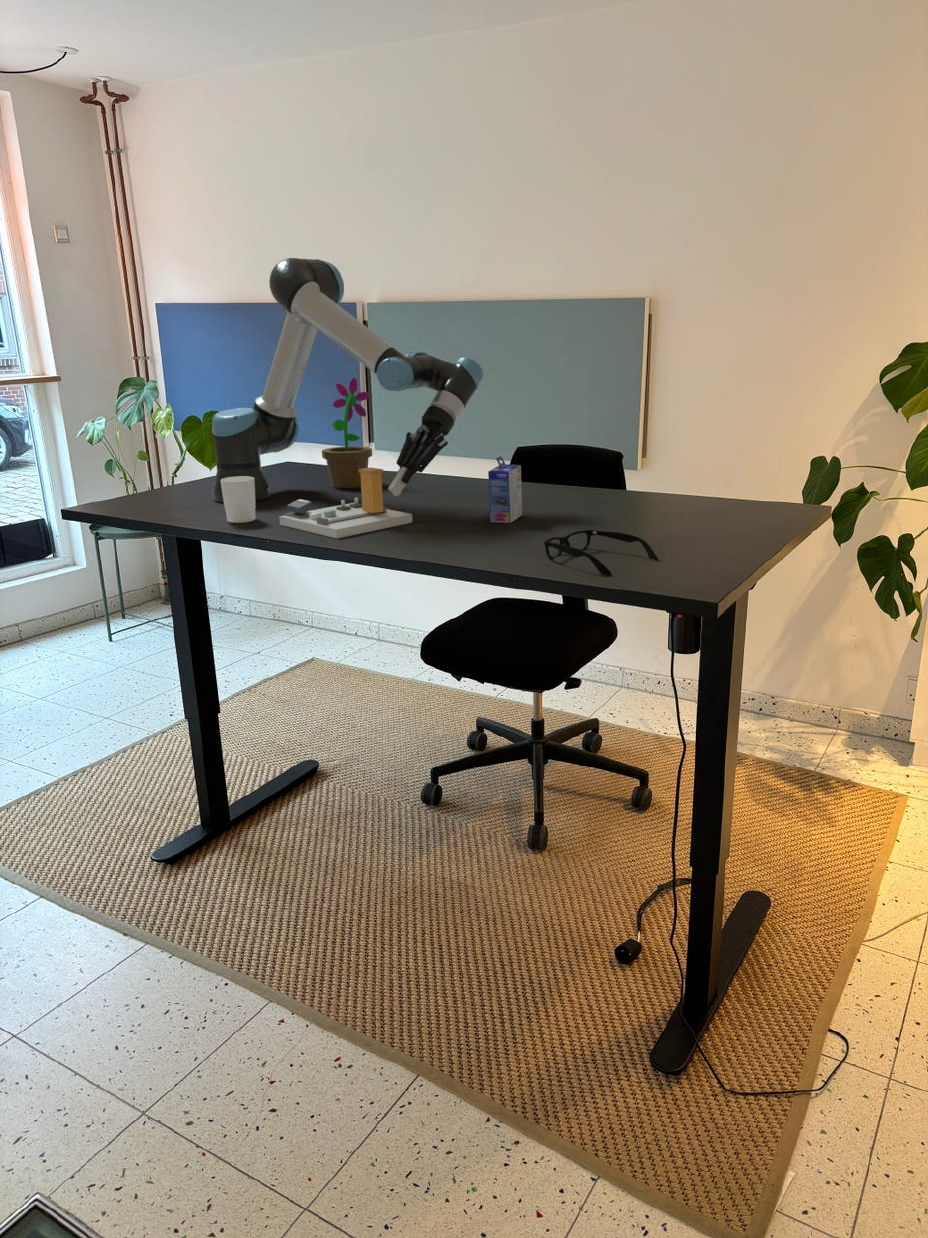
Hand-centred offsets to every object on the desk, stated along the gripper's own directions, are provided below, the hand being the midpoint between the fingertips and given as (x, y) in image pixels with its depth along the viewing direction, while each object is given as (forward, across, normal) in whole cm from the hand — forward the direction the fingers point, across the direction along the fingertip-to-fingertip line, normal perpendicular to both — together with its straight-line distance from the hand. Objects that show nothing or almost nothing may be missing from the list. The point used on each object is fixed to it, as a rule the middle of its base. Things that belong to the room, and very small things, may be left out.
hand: (393, 492), depth 217 cm
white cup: (+22, +28, +13) cm, 38 cm away
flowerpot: (-12, +47, -21) cm, 53 cm away
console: (+12, +5, +3) cm, 13 cm away
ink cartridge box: (-7, -20, -17) cm, 27 cm away
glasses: (+5, -61, -5) cm, 61 cm away
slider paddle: (+7, +1, +2) cm, 7 cm away
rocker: (+14, +13, +11) cm, 22 cm away
